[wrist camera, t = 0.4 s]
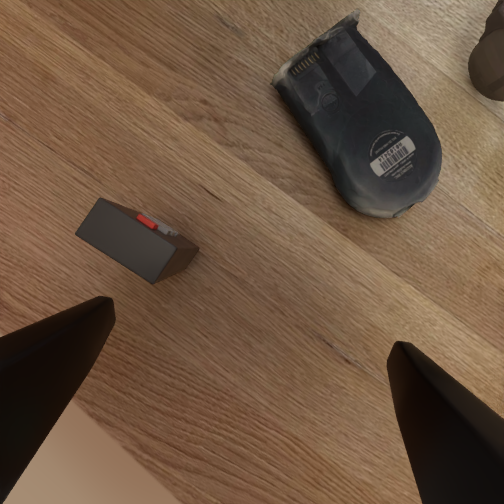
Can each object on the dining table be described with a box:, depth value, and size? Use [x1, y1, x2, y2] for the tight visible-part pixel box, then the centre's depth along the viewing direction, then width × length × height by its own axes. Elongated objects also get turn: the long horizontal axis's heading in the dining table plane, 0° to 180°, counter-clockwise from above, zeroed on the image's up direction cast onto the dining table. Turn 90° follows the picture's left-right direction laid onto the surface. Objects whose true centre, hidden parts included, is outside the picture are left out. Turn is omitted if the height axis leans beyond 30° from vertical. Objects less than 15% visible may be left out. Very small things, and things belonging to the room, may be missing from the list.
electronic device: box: [270, 9, 442, 218], centre depth 23 cm, size 9×6×15 cm
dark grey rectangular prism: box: [75, 198, 199, 284], centre depth 19 cm, size 2×4×10 cm, turn 56°
